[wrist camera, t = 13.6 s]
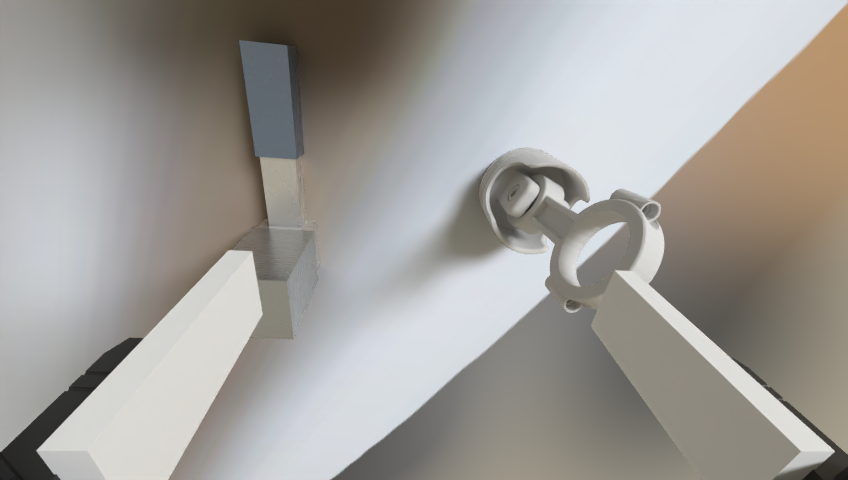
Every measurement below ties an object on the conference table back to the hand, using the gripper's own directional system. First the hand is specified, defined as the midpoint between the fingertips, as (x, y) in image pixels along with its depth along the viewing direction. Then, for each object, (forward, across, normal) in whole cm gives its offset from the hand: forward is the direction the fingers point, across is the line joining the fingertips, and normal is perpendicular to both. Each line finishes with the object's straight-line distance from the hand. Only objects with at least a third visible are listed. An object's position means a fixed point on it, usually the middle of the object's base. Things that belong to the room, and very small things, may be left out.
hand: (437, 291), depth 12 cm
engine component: (+27, +13, -4) cm, 30 cm away
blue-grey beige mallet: (+27, -14, -4) cm, 30 cm away
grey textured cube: (+24, -14, -13) cm, 31 cm away
